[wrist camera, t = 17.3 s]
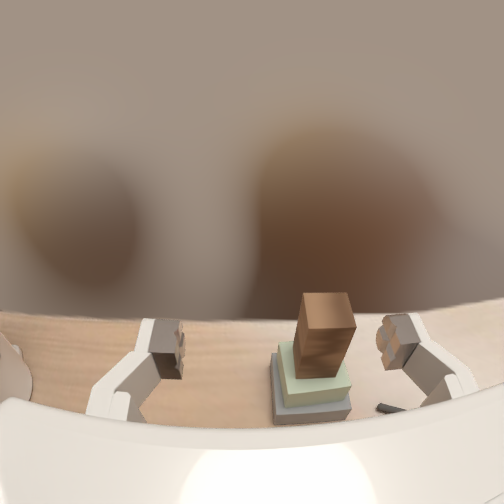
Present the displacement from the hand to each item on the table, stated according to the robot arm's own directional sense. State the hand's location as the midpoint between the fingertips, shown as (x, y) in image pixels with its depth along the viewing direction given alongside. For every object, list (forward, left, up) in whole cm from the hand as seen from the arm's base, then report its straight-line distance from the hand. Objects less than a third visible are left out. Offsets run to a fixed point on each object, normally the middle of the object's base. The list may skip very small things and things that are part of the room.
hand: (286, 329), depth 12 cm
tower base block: (+8, +14, -32) cm, 36 cm away
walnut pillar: (+8, +14, -24) cm, 29 cm away
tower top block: (+8, +14, -28) cm, 33 cm away
